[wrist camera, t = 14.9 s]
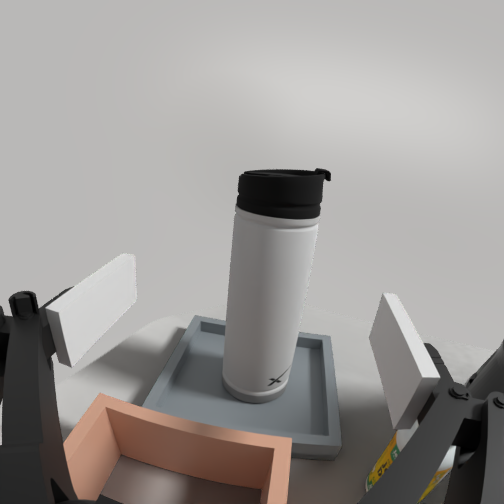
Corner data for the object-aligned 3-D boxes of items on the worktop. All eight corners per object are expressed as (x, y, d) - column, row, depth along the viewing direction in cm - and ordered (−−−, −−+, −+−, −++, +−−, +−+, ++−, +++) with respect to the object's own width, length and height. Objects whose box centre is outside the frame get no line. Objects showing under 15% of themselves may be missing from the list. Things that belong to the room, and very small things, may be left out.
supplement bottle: (432, 483, 17) (494, 405, 14) (399, 525, 14) (471, 455, 11) (387, 453, 21) (435, 373, 18) (349, 490, 18) (400, 412, 15)
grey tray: (326, 350, 36) (330, 335, 35) (334, 460, 21) (341, 446, 20) (194, 330, 37) (195, 315, 37) (142, 426, 22) (139, 410, 22)
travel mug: (290, 408, 26) (338, 174, 19) (216, 399, 26) (234, 161, 19) (289, 366, 31) (325, 167, 25) (226, 358, 32) (244, 157, 25)
